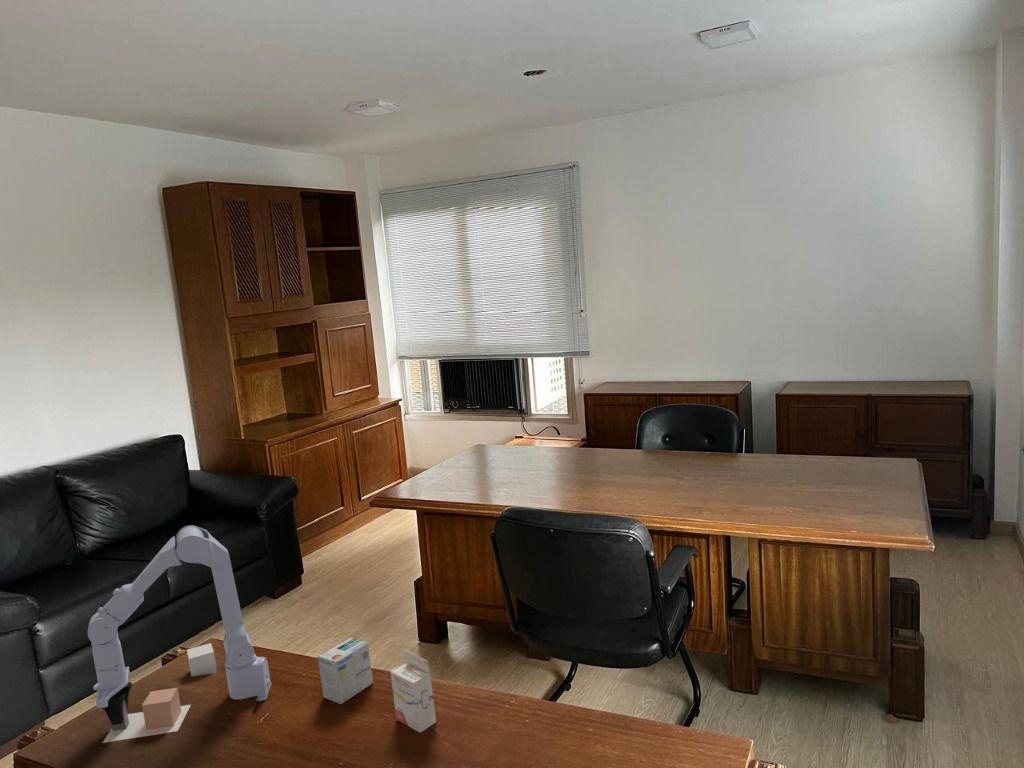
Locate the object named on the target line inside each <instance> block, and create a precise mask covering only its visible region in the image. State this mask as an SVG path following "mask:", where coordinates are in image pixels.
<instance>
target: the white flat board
mask: <svg viewBox="0 0 1024 768" xmlns="http://www.w3.org/2000/svg"><path fill="white" fill-rule="evenodd" d="M191 705H192V704H185V705H181V713H180V715H179V717H178V719H177V721H176V723H175V725H174V726H169V727H163V728H156V729H150V730H146V726H145V720H144V714H143V711H142V712H141V711H139V712H134V713H133V712H132V713H129V712H128V710H127V707H126V702H125V700H124V702H123V722H122V724H116V725H112V723H111V722H110V725H111V729H110V730H109V732H108V733H107V735H106V736H105V738H104V739H103V741H102V744H105V743H111V742H118V741H123V740H124V741H125V740H130V739H136V738H143V737H144V738H145V737H147V736H148V737H149V736H155V735H162V734H169V733H174V732H175V733H176V732H178V731H179V729H180V727H181V725H182V723H183V722H184V719H185V717H186V716H187V715H188V714H187V713H188V712H189V710H190V708H191Z"/></svg>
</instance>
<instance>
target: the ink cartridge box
mask: <svg viewBox="0 0 1024 768" xmlns="http://www.w3.org/2000/svg"><path fill="white" fill-rule="evenodd" d="M404 655H405V660H406V663H404V664H402V665H400V666H399V667H396V668H395V669H393V670H391V671H390V679H391V686H392V695H393V704H394V711H395V719H396V721H398V722H400V723H402V724H404V725H405V726H407V727H409V728H411V729H413V730H414V731H416V732H418V733H423V732H424V731H425V730H427V729H428V728H429V727H431V726H433V725H434V724H435V723H436V722H437V718H436V711H435V710H436V708H435V702H434V691H433V684H432V675H431V672H430V671H431V670H430V668H429V667H430V666H429V661H428V660H427V659H424V658H422V657H421V656H419V655H416V654H415V653H412V652H409V651H407V650H405V651H404ZM415 660H417V661H418V662H417V661H415Z"/></svg>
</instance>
